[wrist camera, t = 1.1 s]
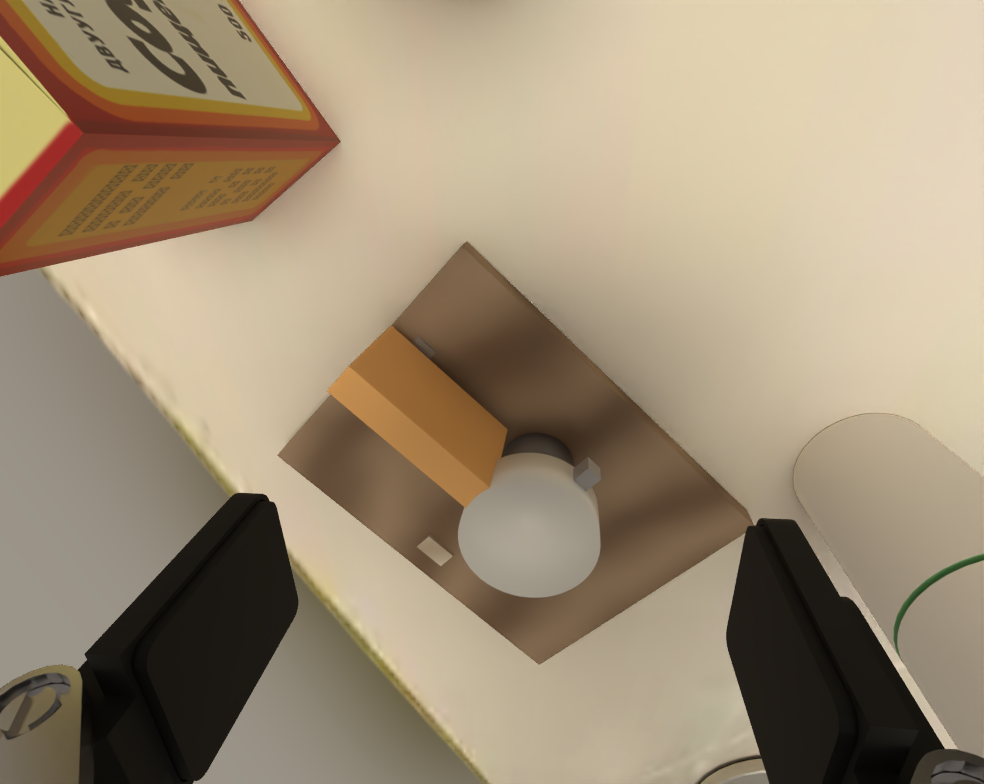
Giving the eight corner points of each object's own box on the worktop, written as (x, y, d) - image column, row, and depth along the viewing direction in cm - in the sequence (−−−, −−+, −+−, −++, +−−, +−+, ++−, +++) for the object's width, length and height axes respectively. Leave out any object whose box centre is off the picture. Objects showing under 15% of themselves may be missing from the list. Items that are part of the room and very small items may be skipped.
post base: (747, 510, 32) (778, 577, 27) (540, 646, 39) (535, 720, 34) (467, 241, 28) (444, 261, 23) (288, 443, 35) (240, 492, 30)
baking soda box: (117, 52, 27) (-423, -62, 12) (203, -49, 25) (-331, -334, 10) (252, 220, 29) (-66, 291, 15) (340, 141, 27) (69, 133, 13)
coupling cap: (633, 466, 29) (647, 537, 24) (526, 548, 32) (516, 627, 27) (432, 278, 27) (396, 310, 21) (336, 387, 30) (284, 439, 24)
